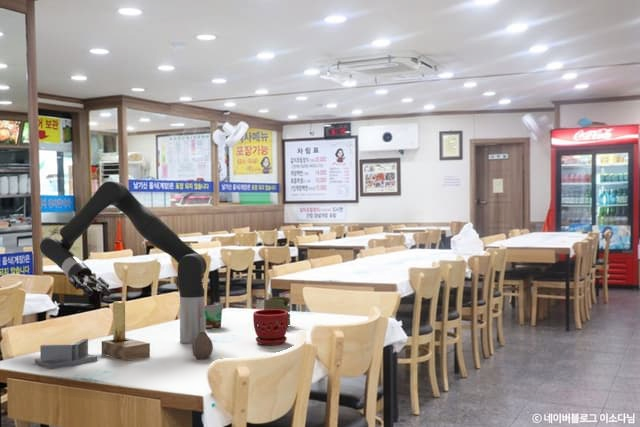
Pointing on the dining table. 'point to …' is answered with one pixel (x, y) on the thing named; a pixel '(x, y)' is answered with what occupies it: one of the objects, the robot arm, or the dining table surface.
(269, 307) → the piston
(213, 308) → the food container
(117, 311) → the axle
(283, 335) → the plant pot
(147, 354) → the brown wooden box
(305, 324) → the dining table surface
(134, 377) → the dining table surface
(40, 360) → the v block
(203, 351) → the vase
